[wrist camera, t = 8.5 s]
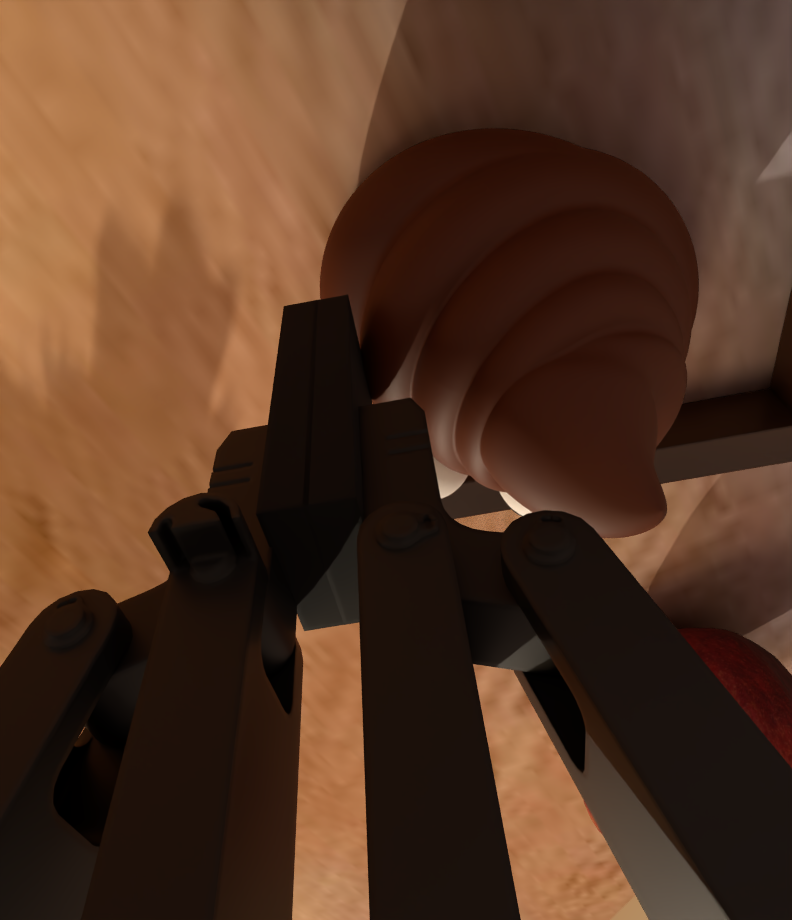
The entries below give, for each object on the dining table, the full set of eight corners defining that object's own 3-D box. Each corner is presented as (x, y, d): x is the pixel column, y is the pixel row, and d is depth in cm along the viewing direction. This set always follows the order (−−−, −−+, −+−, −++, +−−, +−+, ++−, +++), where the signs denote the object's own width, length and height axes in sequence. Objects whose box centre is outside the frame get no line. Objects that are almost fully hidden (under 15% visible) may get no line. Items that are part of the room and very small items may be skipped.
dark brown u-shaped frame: (234, -104, 13) (220, -107, 12) (994, -275, 12) (1089, -304, 11) (381, 490, 23) (385, 531, 22) (805, 417, 22) (840, 453, 21)
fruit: (708, 720, 35) (814, 950, 27) (524, 718, 33) (580, 960, 26) (813, 585, 28) (994, 838, 20) (589, 576, 27) (691, 843, 19)
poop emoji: (736, 184, 17) (1024, 373, 10) (588, 439, 22) (708, 688, 15) (364, 63, 15) (388, 194, 8) (292, 377, 20) (266, 636, 13)
